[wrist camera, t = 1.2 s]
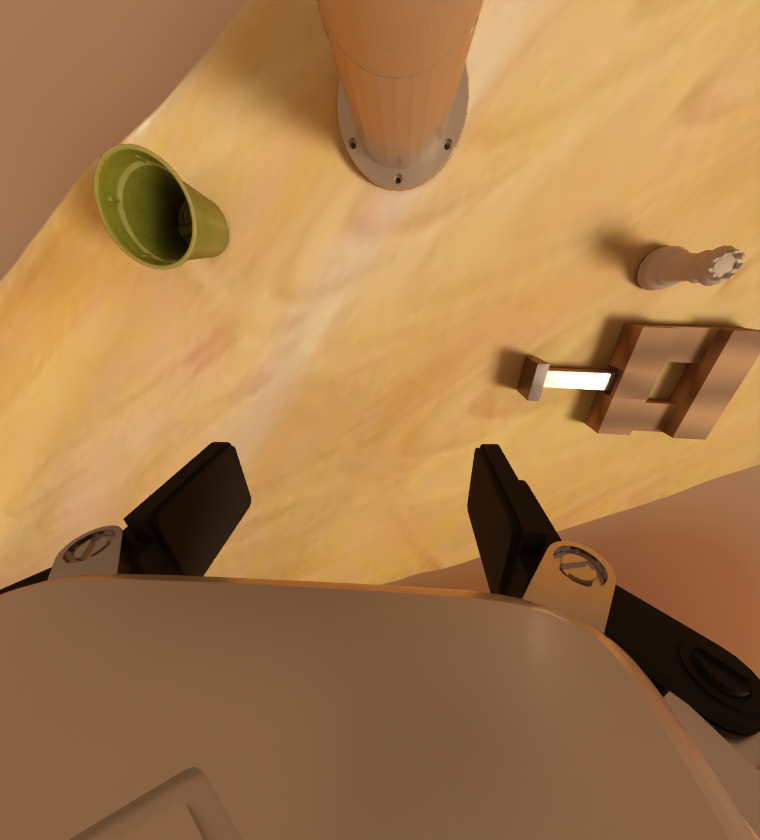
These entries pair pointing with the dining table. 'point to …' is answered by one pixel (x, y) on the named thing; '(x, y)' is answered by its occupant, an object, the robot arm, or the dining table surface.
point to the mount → (697, 389)
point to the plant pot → (155, 210)
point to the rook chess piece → (688, 266)
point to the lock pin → (561, 378)
